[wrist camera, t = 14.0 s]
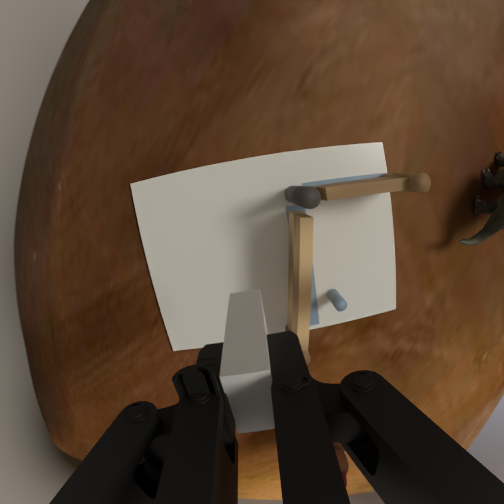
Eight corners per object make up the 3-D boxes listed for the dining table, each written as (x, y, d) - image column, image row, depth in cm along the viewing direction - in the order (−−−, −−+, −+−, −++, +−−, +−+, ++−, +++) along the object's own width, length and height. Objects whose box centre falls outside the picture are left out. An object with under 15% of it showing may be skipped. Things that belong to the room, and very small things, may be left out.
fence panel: (286, 210, 27) (298, 218, 21) (301, 210, 27) (317, 218, 21) (285, 334, 30) (293, 367, 24) (298, 333, 30) (309, 365, 24)
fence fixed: (282, 187, 27) (296, 188, 20) (388, 173, 27) (429, 172, 20) (285, 204, 28) (300, 210, 20) (390, 188, 28) (431, 191, 20)
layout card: (131, 183, 27) (118, 184, 24) (380, 142, 27) (396, 138, 23) (174, 349, 31) (167, 365, 28) (394, 307, 31) (408, 319, 27)
